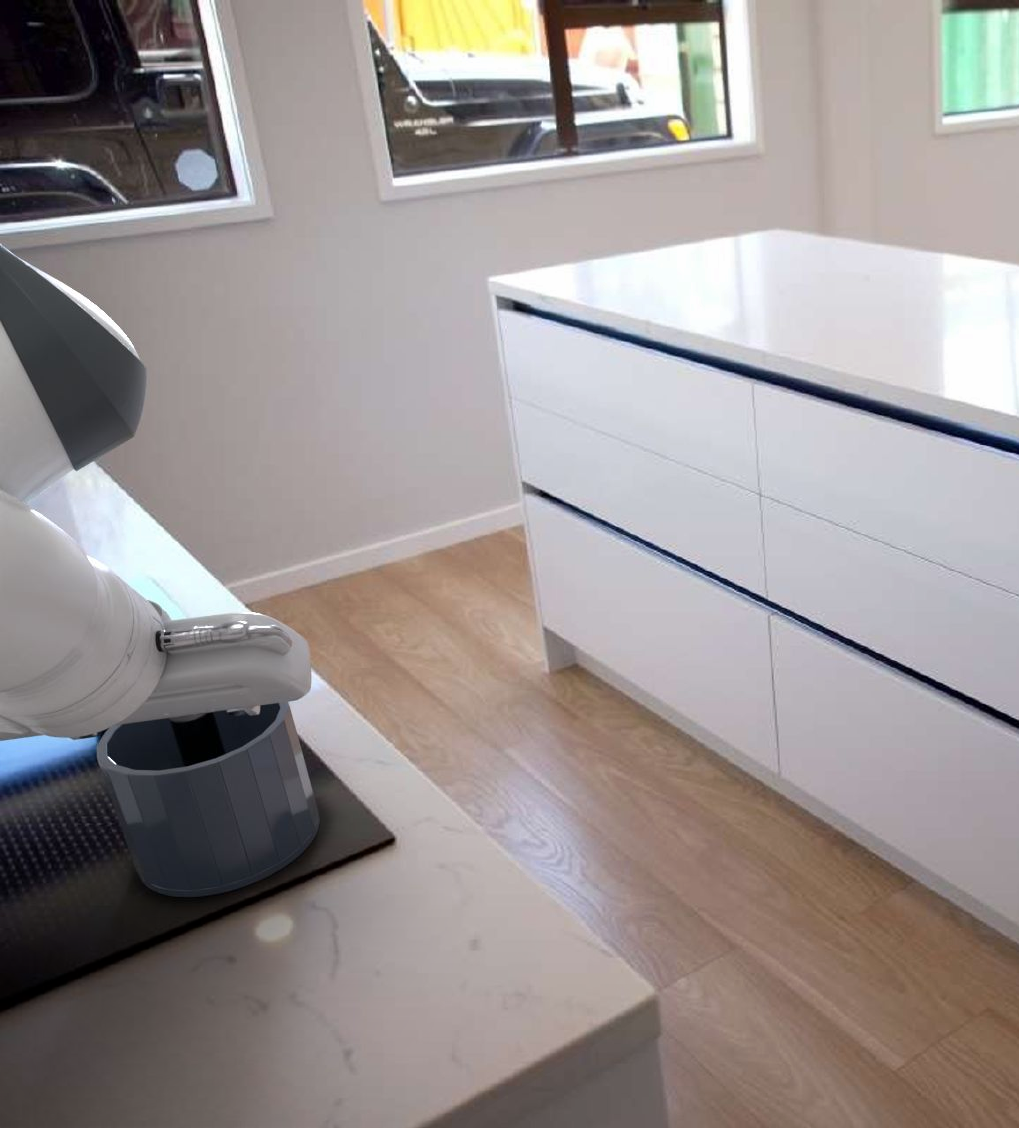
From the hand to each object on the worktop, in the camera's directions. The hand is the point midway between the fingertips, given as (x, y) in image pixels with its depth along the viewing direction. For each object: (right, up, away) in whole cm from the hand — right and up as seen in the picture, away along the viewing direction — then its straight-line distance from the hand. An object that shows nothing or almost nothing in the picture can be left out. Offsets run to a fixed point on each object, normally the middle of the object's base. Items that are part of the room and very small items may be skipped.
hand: (169, 715), depth 81 cm
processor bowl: (0, -10, +8) cm, 13 cm away
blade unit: (0, -9, +8) cm, 12 cm away
